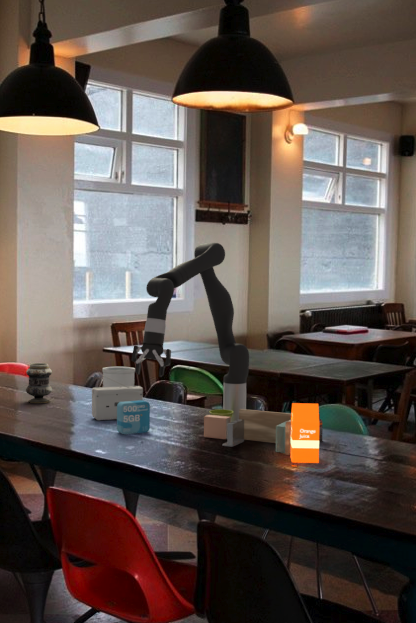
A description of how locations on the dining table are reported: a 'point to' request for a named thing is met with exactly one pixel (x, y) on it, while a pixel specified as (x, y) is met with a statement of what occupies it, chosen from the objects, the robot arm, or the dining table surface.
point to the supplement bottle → (320, 429)
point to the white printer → (112, 399)
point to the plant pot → (221, 412)
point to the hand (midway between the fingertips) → (149, 375)
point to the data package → (133, 417)
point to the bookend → (235, 433)
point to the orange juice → (304, 433)
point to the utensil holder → (118, 376)
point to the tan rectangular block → (216, 426)
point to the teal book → (280, 437)
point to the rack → (265, 426)
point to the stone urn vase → (39, 382)
